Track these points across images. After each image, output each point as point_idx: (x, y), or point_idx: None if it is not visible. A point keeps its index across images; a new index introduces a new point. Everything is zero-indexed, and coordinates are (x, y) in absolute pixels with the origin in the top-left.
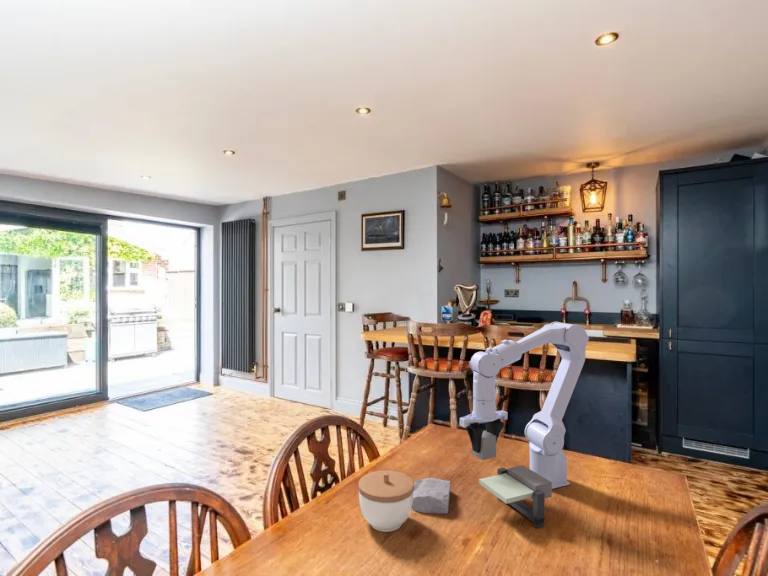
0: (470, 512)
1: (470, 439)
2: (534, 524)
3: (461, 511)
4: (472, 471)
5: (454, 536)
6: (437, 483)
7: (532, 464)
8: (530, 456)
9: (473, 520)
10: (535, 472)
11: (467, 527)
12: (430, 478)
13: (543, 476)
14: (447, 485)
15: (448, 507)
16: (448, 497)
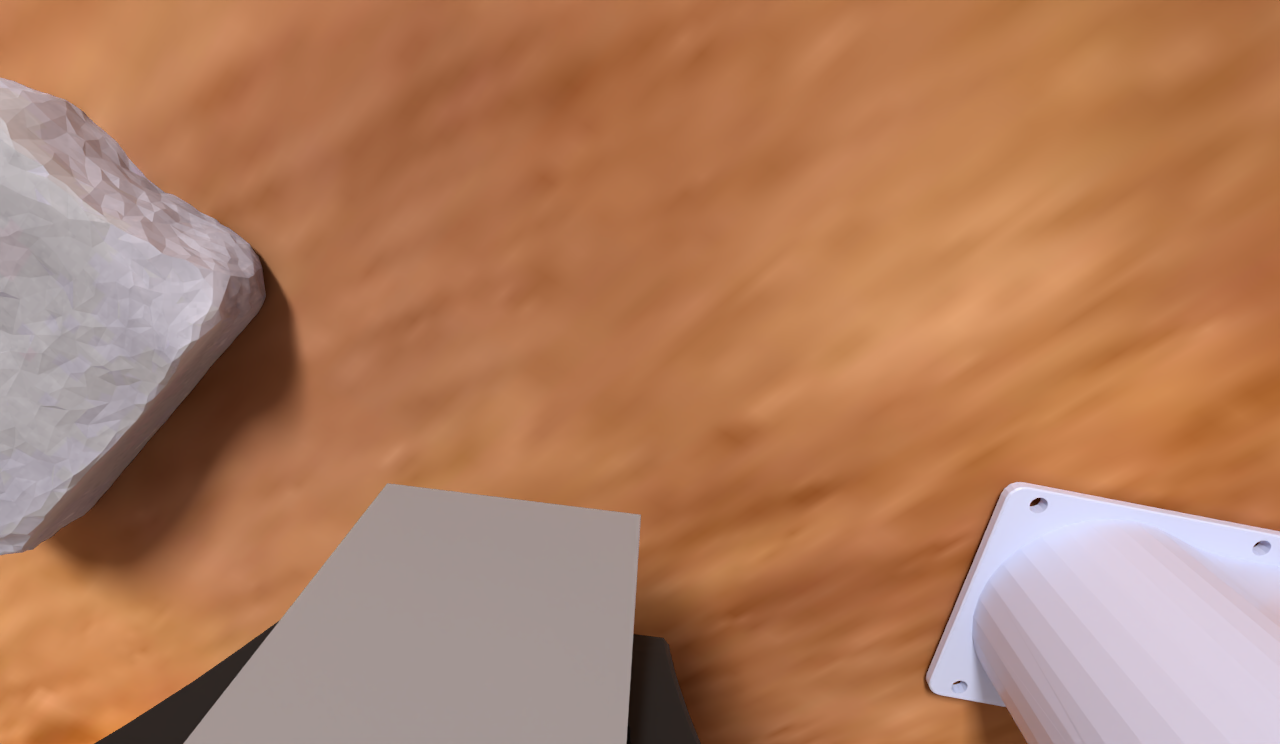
0: (251, 577)
1: (158, 706)
2: None
3: (199, 538)
4: (751, 100)
5: (15, 682)
6: (51, 301)
7: (1063, 709)
8: (1136, 733)
9: (214, 642)
10: (1018, 689)
11: (136, 667)
12: (22, 176)
13: (1021, 732)
14: (135, 377)
15: (102, 490)
16: (28, 541)
